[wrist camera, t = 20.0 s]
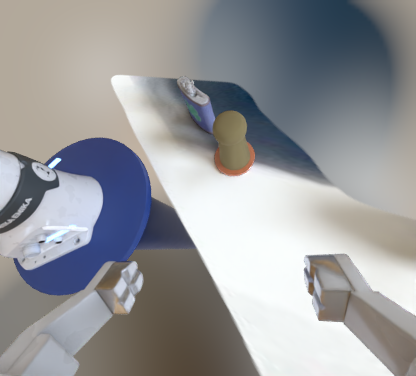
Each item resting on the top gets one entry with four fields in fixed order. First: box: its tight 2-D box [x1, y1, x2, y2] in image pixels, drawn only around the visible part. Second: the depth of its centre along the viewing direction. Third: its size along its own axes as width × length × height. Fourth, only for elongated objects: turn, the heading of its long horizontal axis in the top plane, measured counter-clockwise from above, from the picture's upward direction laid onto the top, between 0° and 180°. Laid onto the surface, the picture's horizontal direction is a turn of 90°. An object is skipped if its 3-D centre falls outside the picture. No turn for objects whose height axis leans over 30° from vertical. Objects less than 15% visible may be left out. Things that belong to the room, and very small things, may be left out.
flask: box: [177, 76, 215, 134], centre depth 37 cm, size 9×3×11 cm, turn 38°
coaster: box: [214, 142, 255, 176], centre depth 37 cm, size 8×8×1 cm
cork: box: [212, 111, 250, 170], centre depth 31 cm, size 6×6×11 cm
